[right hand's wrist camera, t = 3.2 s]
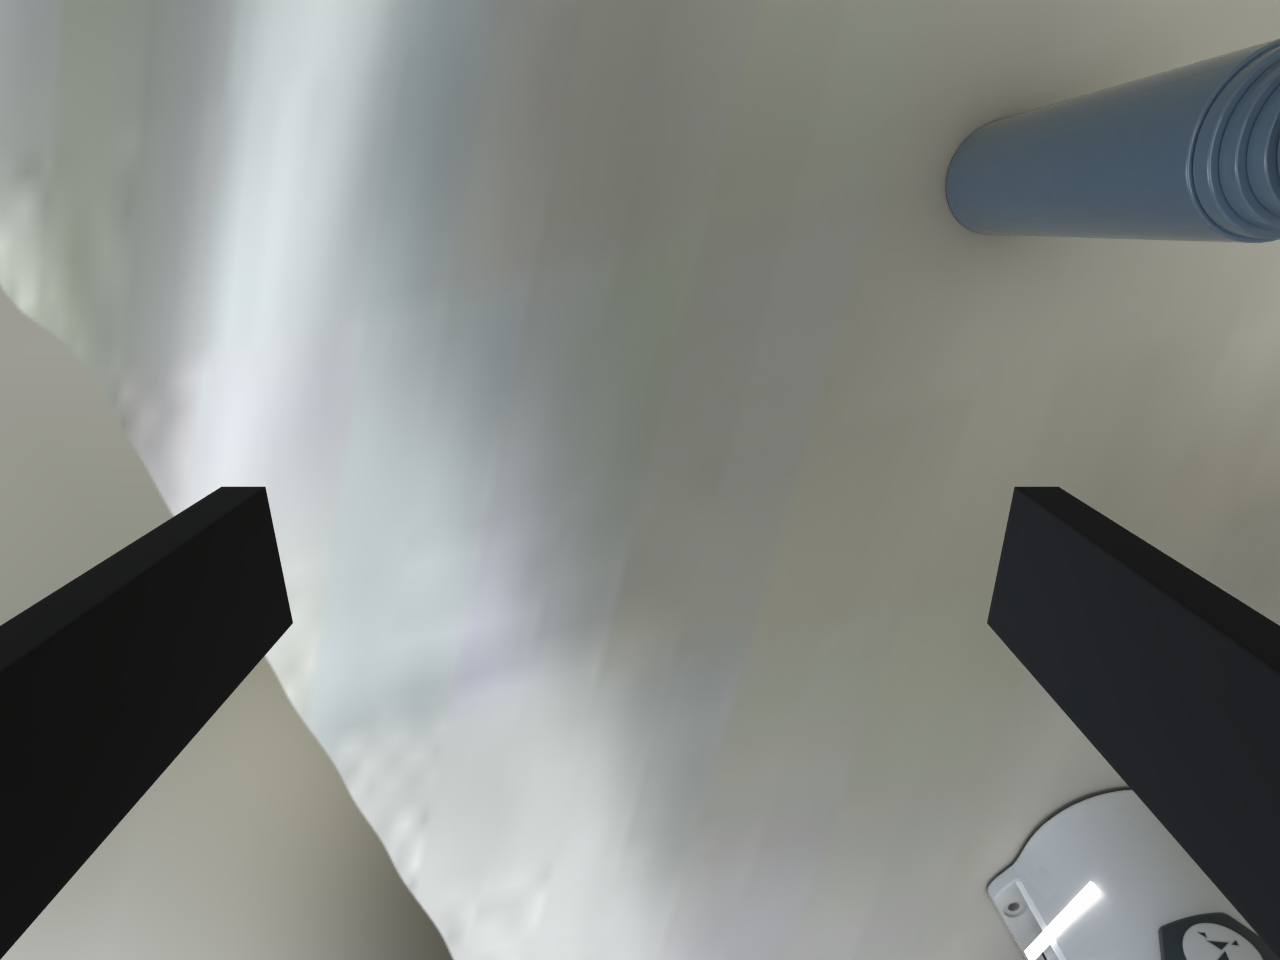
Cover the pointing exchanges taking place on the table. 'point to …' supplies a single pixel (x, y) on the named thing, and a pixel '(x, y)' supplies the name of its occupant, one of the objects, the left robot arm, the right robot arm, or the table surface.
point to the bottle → (1135, 159)
